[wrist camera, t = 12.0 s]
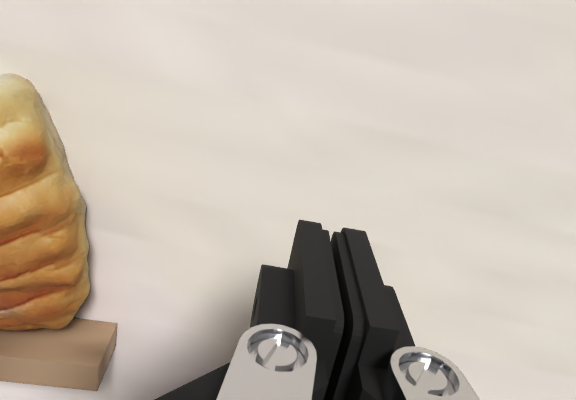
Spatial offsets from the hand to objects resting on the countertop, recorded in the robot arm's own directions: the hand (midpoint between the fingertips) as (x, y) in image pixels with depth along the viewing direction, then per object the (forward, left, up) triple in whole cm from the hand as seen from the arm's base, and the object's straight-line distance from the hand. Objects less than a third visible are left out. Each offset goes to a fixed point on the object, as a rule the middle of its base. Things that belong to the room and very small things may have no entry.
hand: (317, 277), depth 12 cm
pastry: (+11, +2, -7) cm, 13 cm away
